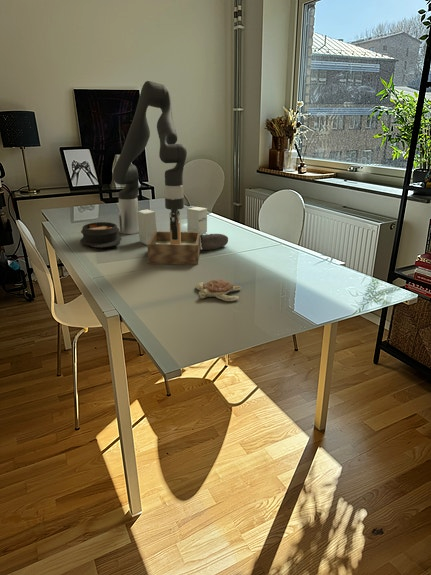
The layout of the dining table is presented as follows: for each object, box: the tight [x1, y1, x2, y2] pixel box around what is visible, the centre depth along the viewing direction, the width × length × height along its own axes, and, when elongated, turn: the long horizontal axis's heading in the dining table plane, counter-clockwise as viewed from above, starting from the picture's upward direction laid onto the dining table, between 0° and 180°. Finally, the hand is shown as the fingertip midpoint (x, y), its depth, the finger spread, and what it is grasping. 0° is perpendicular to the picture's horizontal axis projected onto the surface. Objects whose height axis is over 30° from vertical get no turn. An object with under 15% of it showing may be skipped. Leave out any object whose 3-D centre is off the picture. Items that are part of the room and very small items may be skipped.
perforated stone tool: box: [200, 233, 229, 251], centre depth 188 cm, size 15×5×7 cm, turn 120°
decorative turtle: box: [195, 279, 242, 302], centre depth 141 cm, size 18×17×5 cm
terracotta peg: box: [169, 220, 182, 244], centre depth 174 cm, size 4×4×10 cm
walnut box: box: [146, 230, 201, 265], centre depth 176 cm, size 20×20×8 cm
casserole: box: [80, 221, 123, 249], centre depth 193 cm, size 25×19×8 cm
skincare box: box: [137, 208, 158, 246], centre depth 194 cm, size 8×6×15 cm
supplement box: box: [186, 206, 208, 235], centre depth 211 cm, size 7×7×13 cm
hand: (175, 237), depth 175 cm, fingers closed on terracotta peg, 4 cm apart
